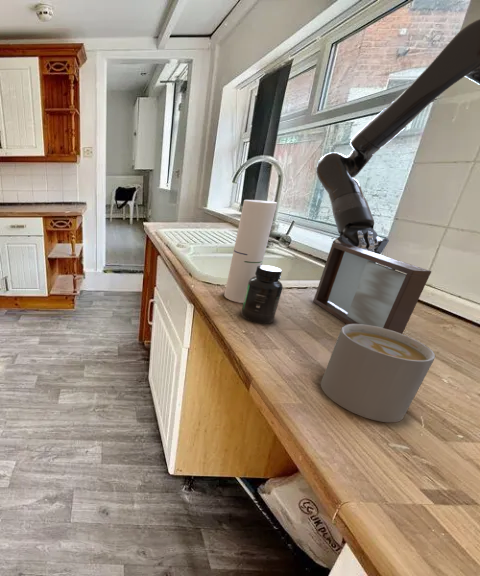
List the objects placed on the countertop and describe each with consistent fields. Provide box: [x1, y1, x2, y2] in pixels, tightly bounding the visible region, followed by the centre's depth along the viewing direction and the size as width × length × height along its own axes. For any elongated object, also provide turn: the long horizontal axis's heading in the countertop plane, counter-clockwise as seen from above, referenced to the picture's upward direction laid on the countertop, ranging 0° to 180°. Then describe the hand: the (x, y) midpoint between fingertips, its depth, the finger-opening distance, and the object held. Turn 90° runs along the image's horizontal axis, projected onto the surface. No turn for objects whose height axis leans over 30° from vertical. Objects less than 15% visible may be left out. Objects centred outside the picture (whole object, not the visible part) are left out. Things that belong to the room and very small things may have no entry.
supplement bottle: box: [241, 264, 284, 325], centre depth 69 cm, size 7×7×12 cm
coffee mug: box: [320, 324, 436, 423], centre depth 46 cm, size 13×10×10 cm
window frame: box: [313, 242, 432, 335], centre depth 68 cm, size 22×3×16 cm, turn 177°
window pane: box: [326, 251, 395, 312], centre depth 73 cm, size 10×9×13 cm
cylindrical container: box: [223, 199, 278, 304], centre depth 77 cm, size 7×7×25 cm
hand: (370, 271), depth 76 cm, fingers closed
